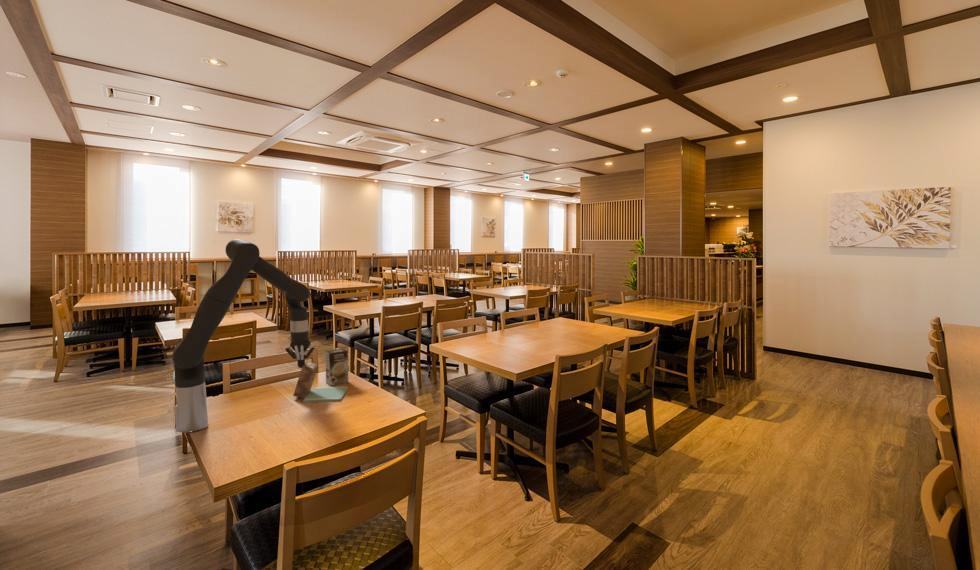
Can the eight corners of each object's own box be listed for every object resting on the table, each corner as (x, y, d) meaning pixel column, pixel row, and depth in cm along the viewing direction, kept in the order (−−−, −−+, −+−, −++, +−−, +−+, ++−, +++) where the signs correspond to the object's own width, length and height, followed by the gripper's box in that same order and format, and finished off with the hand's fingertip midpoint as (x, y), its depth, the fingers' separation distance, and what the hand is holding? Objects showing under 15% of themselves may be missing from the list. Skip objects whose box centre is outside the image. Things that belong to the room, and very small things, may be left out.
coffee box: (330, 386, 210) (329, 353, 208) (325, 382, 215) (324, 350, 213) (349, 382, 216) (347, 350, 214) (344, 378, 220) (343, 347, 219)
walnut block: (293, 395, 193) (302, 366, 192) (298, 389, 200) (307, 361, 199) (304, 398, 193) (313, 369, 192) (309, 392, 201) (318, 364, 200)
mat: (302, 402, 189) (302, 400, 189) (313, 389, 205) (313, 387, 205) (340, 400, 191) (340, 398, 191) (348, 388, 207) (348, 386, 207)
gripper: (281, 332, 189) (283, 370, 191) (312, 331, 191) (314, 369, 193) (286, 328, 197) (289, 365, 199) (317, 327, 198) (319, 364, 200)
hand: (301, 367), depth 196 cm, fingers closed
